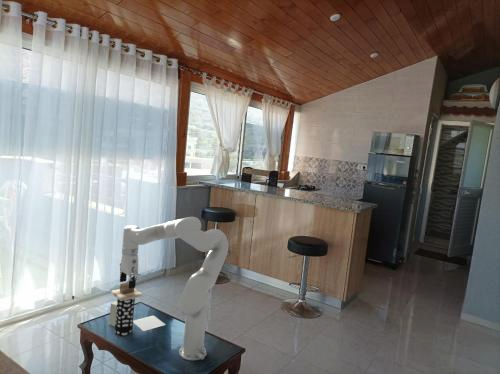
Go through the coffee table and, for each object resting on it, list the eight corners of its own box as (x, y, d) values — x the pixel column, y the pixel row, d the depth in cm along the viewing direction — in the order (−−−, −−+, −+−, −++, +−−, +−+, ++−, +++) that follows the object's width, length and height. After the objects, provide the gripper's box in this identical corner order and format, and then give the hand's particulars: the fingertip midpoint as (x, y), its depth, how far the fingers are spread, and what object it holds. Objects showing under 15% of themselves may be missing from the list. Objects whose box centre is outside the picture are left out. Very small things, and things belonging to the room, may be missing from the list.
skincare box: (118, 321, 191) (119, 299, 190) (124, 323, 189) (125, 301, 188) (108, 325, 185) (110, 302, 184) (114, 328, 183) (116, 305, 182)
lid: (142, 296, 178) (143, 285, 177) (121, 300, 170) (122, 289, 169) (131, 288, 185) (132, 278, 185) (111, 293, 177) (111, 282, 177)
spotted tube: (122, 327, 185) (125, 290, 183) (135, 331, 182) (138, 293, 180) (110, 334, 177) (114, 295, 175) (124, 339, 174) (128, 299, 172)
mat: (165, 325, 191) (165, 324, 191) (143, 332, 182) (143, 331, 182) (153, 316, 200) (153, 315, 200) (131, 322, 191) (131, 321, 191)
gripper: (145, 254, 172) (142, 289, 174) (129, 245, 185) (126, 278, 186) (131, 256, 167) (128, 292, 168) (115, 247, 179) (112, 280, 181)
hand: (127, 284), depth 177 cm, fingers open, 9 cm apart
